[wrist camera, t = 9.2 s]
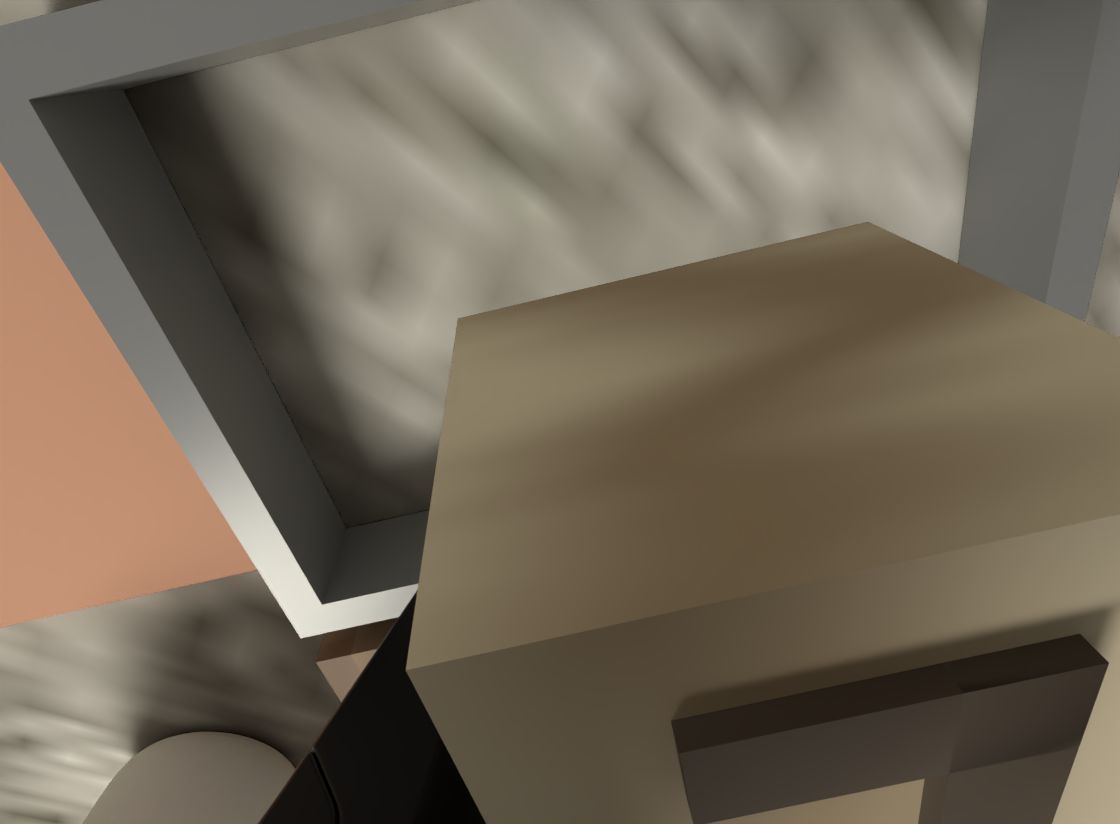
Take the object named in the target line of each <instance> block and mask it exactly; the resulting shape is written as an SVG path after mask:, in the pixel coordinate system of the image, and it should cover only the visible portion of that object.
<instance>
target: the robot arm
mask: <svg viewBox="0 0 1120 824" xmlns="http://www.w3.org/2000/svg"><path fill="white" fill-rule="evenodd" d="M417 591H418V590H417ZM417 591H416V593H415V594H414V595H413V597H412V598H411V600H410V601H409V603H408V604H407V606H406V607H405V609H404V610H403V612H402V613H401V615H400V616H399V618H398V619H397V621H396V622H395V624H394V625H393V626H392V628H391V629H390V631H389V632H388V634H387V635H386V637H385V638H384V640H383V641H382V643H381V644H380V646H379V647H378V649H377V650H376V652H375V653H374V654H373V656H372V657H371V659H370V660H369V662H368V663H367V665H366V666H365V668H364V669H363V671H362V672H361V674H360V675H359V677H358V678H357V680H356V681H355V682H354V684H353V685H352V687H351V688H350V690H349V691H348V693H347V694H346V696H345V697H344V699H343V700H342V702H341V703H340V705H339V706H338V708H337V709H336V710H335V712H334V713H333V715H332V716H331V718H330V719H329V721H328V722H327V724H326V725H325V727H324V728H323V730H322V731H321V733H320V734H319V736H318V737H317V738H316V740H315V741H314V743H313V745H312V749H313V752H314V753H313V752H308V753H306V754H305V756H304V757H303V759H302V760H301V762H300V763H299V764H298V766H297V767H296V769H295V770H294V772H293V773H292V775H291V776H290V778H289V779H288V781H287V782H286V784H285V785H284V787H283V788H282V789H281V791H280V792H279V794H278V795H277V797H276V798H275V799H274V801H273V802H272V804H271V805H270V806H269V808H268V809H267V811H266V812H265V813H264V815H263V816H262V818H261V819H260V821H259V822H258V823H257V824H486V822H485V821H484V819H483V817H482V815H481V813H480V811H479V809H478V807H477V805H476V803H475V801H474V800H473V798H472V796H471V794H470V792H469V790H468V788H467V786H466V784H465V782H464V781H463V779H462V777H461V775H460V773H459V771H458V769H457V767H456V765H455V763H454V761H453V760H452V758H451V756H450V754H449V752H448V750H447V748H446V746H445V744H444V742H443V740H442V739H441V737H440V735H439V733H438V731H437V729H436V727H435V725H434V723H433V721H432V719H431V718H430V716H429V714H428V712H427V710H426V708H425V706H424V704H423V702H422V700H421V698H420V697H419V695H418V693H417V691H416V689H415V687H414V685H413V683H412V681H411V679H410V678H409V676H408V674H407V672H406V665H407V658H408V651H409V644H410V638H411V631H412V624H413V618H414V611H415V604H416V597H417Z"/></svg>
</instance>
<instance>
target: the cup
mask: <svg viewBox="0 0 1120 824" xmlns="http://www.w3.org/2000/svg"><path fill="white" fill-rule="evenodd" d="M294 770H295V768H294V767H293V765H292V764H291V762H290V761H288V760H287V759H286V758H285V757H284V756H283V755H282V754H281V753H280V752H278V751H277V750H275V749H274V748H272V747H270V746H268V745H266V744H264V743H262V742H259V741H257V740H254V739H252V738H248V737H245V736H241V735H236V734H231V733H222V732H194V733H186V734H181V735H176V736H172V737H169V738H166V739H163V740H161V741H158V742H156V743H154V744H152V745H150V746H148V747H147V748H145V749H144V750H142V751H140V752H139V753H138V754H137V755H135V756H134V757H133V758H132V759H131V760H129V761H128V762H127V763H126V764H125V766H124V767H123V768H122V769H121V770H120V771H119V772H118V773H117V774H116V776H115V777H114V778H113V779H112V781H111V782H110V783H109V785H108V786H107V788H106V789H105V790H104V792H103V793H102V795H101V796H100V798H99V799H98V801H97V802H96V804H95V805H94V807H93V808H92V810H91V811H90V813H89V814H88V816H87V818H86V819H85V821H84V822H83V824H257V823H258V822H259V821H260V819H261V818H262V816H263V815H264V813H265V812H266V811H267V809H268V808H269V806H270V805H271V804H272V802H273V801H274V799H275V798H276V797H277V795H278V794H279V792H280V791H281V789H282V788H283V787H284V785H285V784H286V782H287V781H288V779H289V778H290V776H291V775H292V773H293V772H294Z"/></svg>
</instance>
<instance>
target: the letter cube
mask: <svg viewBox="0 0 1120 824" xmlns="http://www.w3.org/2000/svg"><path fill="white" fill-rule="evenodd" d="M406 672H407V674H408V676H409V678H410V679H411V681H412V683H413V685H414V687H415V689H416V691H417V693H418V695H419V697H420V698H421V700H422V702H423V704H424V706H425V708H426V710H427V712H428V714H429V716H430V718H431V719H432V721H433V723H434V725H435V727H436V729H437V731H438V733H439V735H440V737H441V739H442V740H443V742H444V744H445V746H446V748H447V750H448V752H449V754H450V756H451V758H452V760H453V761H454V763H455V765H456V767H457V769H458V771H459V773H460V775H461V777H462V779H463V781H464V782H465V784H466V786H467V788H468V790H469V792H470V794H471V796H472V798H473V800H474V801H475V803H476V805H477V807H478V809H479V811H480V813H481V815H482V817H483V819H484V821H485V822H486V824H1120V338H1118V337H1116V336H1114V335H1112V334H1110V333H1108V332H1105V331H1103V330H1101V329H1099V328H1097V327H1095V326H1092V325H1090V324H1088V323H1086V322H1084V321H1082V320H1079V319H1077V318H1075V317H1073V316H1071V315H1069V314H1066V313H1064V312H1062V311H1060V310H1058V309H1056V308H1053V307H1051V306H1049V305H1047V304H1045V303H1043V302H1040V301H1038V300H1036V299H1034V298H1032V297H1030V296H1027V295H1025V294H1023V293H1021V292H1019V291H1016V290H1014V289H1012V288H1010V287H1008V286H1006V285H1003V284H1001V283H999V282H997V281H995V280H993V279H990V278H988V277H986V276H984V275H982V274H980V273H977V272H975V271H973V270H971V269H969V268H967V267H964V266H962V265H960V264H958V263H956V262H954V261H951V260H949V259H947V258H945V257H943V256H941V255H938V254H936V253H934V252H932V251H930V250H928V249H925V248H923V247H921V246H919V245H917V244H915V243H912V242H910V241H908V240H906V239H904V238H902V237H899V236H897V235H895V234H893V233H891V232H889V231H886V230H884V229H882V228H880V227H878V226H876V225H873V224H871V223H869V222H865V223H861V224H856V225H852V226H848V227H844V228H839V229H835V230H831V231H827V232H822V233H818V234H814V235H810V236H806V237H801V238H797V239H793V240H789V241H784V242H780V243H776V244H772V245H767V246H763V247H759V248H755V249H750V250H746V251H742V252H738V253H734V254H729V255H725V256H721V257H717V258H712V259H708V260H704V261H700V262H695V263H691V264H687V265H683V266H678V267H674V268H670V269H666V270H662V271H657V272H653V273H649V274H645V275H640V276H636V277H632V278H628V279H623V280H619V281H615V282H611V283H606V284H602V285H598V286H594V287H590V288H585V289H581V290H577V291H573V292H568V293H564V294H560V295H556V296H551V297H547V298H543V299H539V300H534V301H530V302H526V303H522V304H518V305H513V306H509V307H505V308H501V309H496V310H492V311H488V312H484V313H479V314H475V315H471V316H467V317H462V318H458V322H457V328H456V335H455V342H454V348H453V355H452V362H451V369H450V375H449V382H448V389H447V396H446V402H445V409H444V416H443V422H442V429H441V436H440V443H439V449H438V456H437V463H436V470H435V476H434V483H433V490H432V497H431V503H430V510H429V517H428V523H427V530H426V537H425V544H424V550H423V557H422V564H421V571H420V577H419V584H418V591H417V597H416V604H415V611H414V618H413V624H412V631H411V638H410V644H409V651H408V658H407V665H406Z"/></svg>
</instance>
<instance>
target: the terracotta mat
mask: <svg viewBox="0 0 1120 824" xmlns="http://www.w3.org/2000/svg"><path fill="white" fill-rule="evenodd" d="M254 570H257V568H256V567H255V565H254V564H253V562H252V560H251V559H250V557H249V556H248V554H247V552H246V551H245V549H244V548H243V546H242V544H241V543H240V541H239V540H238V538H237V537H236V535H235V533H234V532H233V530H232V529H231V527H230V525H229V524H228V522H227V521H226V519H225V518H224V516H223V514H222V513H221V511H220V510H219V508H218V506H217V505H216V503H215V502H214V500H213V498H212V497H211V495H210V494H209V492H208V491H207V489H206V487H205V486H204V484H203V483H202V481H201V479H200V478H199V476H198V475H197V473H196V471H195V470H194V468H193V467H192V465H191V464H190V462H189V460H188V459H187V457H186V456H185V454H184V452H183V451H182V449H181V448H180V446H179V445H178V443H177V441H176V440H175V438H174V437H173V435H172V433H171V432H170V430H169V429H168V427H167V425H166V424H165V422H164V421H163V419H162V418H161V416H160V414H159V413H158V411H157V410H156V408H155V406H154V405H153V403H152V402H151V400H150V399H149V397H148V395H147V394H146V392H145V391H144V389H143V387H142V386H141V384H140V383H139V381H138V379H137V378H136V376H135V375H134V373H133V372H132V370H131V368H130V367H129V365H128V364H127V362H126V360H125V359H124V357H123V356H122V354H121V352H120V351H119V349H118V348H117V346H116V345H115V343H114V341H113V340H112V338H111V337H110V335H109V333H108V332H107V330H106V329H105V327H104V326H103V324H102V322H101V321H100V319H99V318H98V316H97V314H96V313H95V311H94V310H93V308H92V306H91V305H90V303H89V302H88V300H87V299H86V297H85V295H84V294H83V292H82V291H81V289H80V287H79V286H78V284H77V283H76V281H75V280H74V278H73V276H72V275H71V273H70V272H69V270H68V268H67V267H66V265H65V264H64V262H63V260H62V259H61V257H60V256H59V254H58V253H57V251H56V249H55V248H54V246H53V245H52V243H51V241H50V240H49V238H48V237H47V235H46V233H45V232H44V230H43V229H42V227H41V226H40V224H39V222H38V221H37V219H36V218H35V216H34V214H33V213H32V211H31V210H30V208H29V207H28V205H27V203H26V202H25V200H24V199H23V197H22V195H21V194H20V192H19V191H18V189H17V187H16V186H15V184H14V183H13V181H12V180H11V178H10V176H9V175H8V173H7V172H6V170H5V168H4V167H3V165H2V164H1V162H0V627H4V626H8V625H13V624H17V623H22V622H26V621H31V620H35V619H40V618H44V617H48V616H53V615H57V614H62V613H66V612H71V611H75V610H80V609H84V608H89V607H93V606H98V605H102V604H107V603H111V602H116V601H120V600H125V599H129V598H133V597H138V596H142V595H147V594H151V593H156V592H160V591H165V590H169V589H174V588H178V587H183V586H187V585H192V584H196V583H201V582H205V581H210V580H214V579H218V578H223V577H227V576H232V575H236V574H241V573H245V572H250V571H254Z"/></svg>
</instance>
